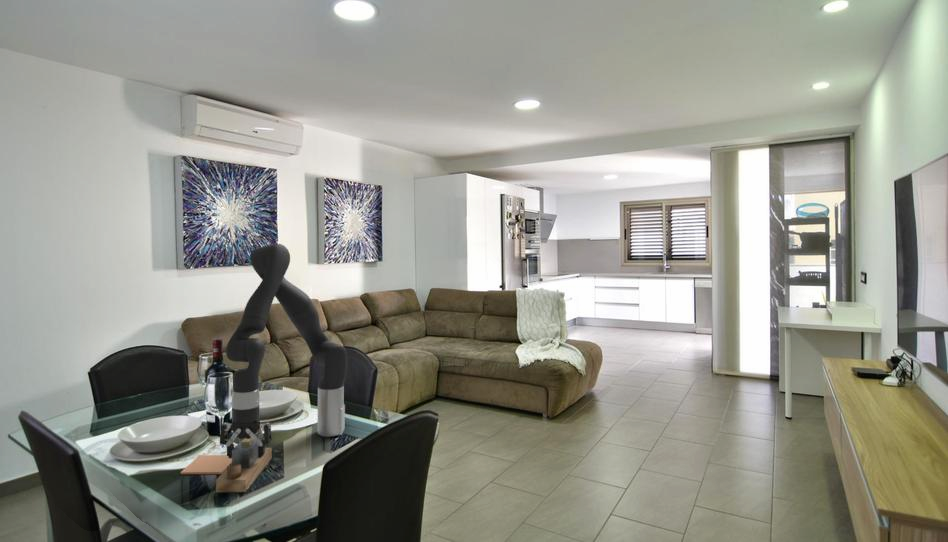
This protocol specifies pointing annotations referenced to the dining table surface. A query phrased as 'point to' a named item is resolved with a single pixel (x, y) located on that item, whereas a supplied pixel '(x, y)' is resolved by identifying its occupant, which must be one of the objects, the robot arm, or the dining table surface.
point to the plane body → (242, 475)
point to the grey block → (245, 453)
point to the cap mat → (208, 464)
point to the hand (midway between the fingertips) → (245, 457)
